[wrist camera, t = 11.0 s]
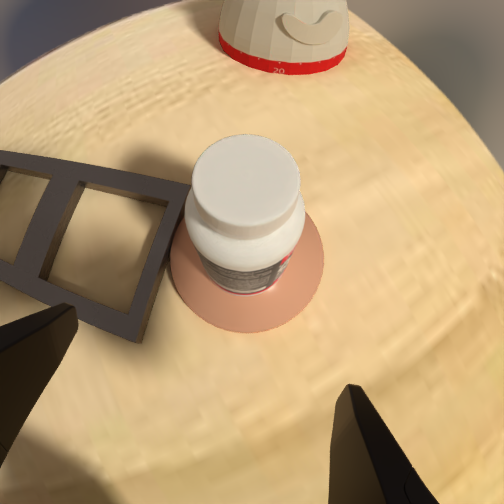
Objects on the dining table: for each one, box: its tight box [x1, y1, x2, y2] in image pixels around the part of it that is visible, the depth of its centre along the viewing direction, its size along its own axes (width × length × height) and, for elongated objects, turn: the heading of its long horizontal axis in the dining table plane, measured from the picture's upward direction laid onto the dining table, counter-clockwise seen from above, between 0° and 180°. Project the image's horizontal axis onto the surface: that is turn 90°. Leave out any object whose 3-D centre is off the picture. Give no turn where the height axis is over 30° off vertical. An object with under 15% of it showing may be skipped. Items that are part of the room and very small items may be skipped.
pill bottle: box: [185, 134, 305, 296], centre depth 16 cm, size 5×5×10 cm
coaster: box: [170, 211, 324, 333], centre depth 21 cm, size 10×10×1 cm
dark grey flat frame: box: [0, 150, 191, 343], centre depth 21 cm, size 11×22×1 cm, turn 75°
